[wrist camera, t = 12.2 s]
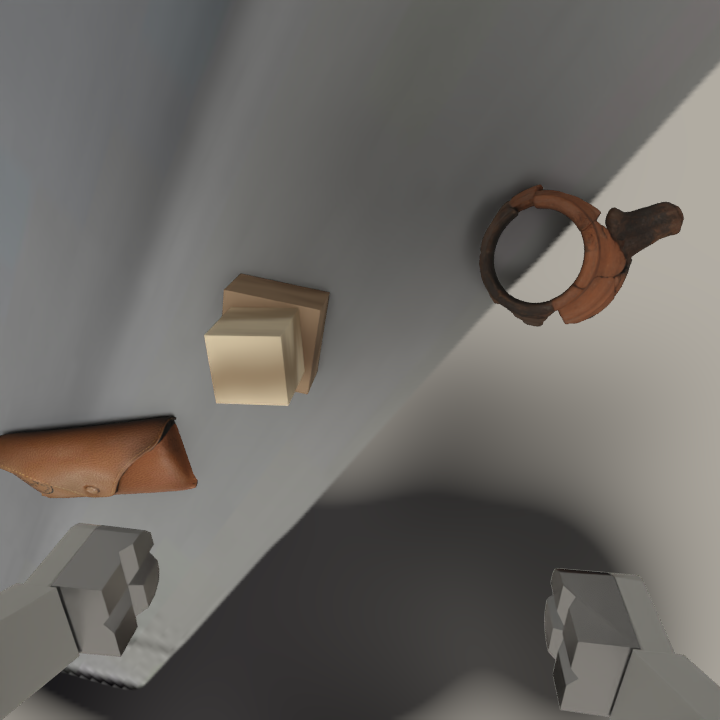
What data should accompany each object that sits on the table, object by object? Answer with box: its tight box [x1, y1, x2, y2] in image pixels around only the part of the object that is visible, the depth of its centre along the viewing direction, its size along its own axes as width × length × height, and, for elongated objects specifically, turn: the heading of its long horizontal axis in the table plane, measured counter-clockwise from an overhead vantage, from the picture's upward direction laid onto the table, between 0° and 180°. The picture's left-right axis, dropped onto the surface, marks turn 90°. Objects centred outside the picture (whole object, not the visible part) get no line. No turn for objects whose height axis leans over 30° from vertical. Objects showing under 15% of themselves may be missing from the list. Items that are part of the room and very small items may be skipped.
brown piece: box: [479, 185, 684, 326], centre depth 36 cm, size 12×10×8 cm
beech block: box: [204, 307, 305, 406], centre depth 38 cm, size 5×5×5 cm
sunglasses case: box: [0, 417, 197, 498], centre depth 51 cm, size 18×7×7 cm, turn 101°
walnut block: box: [222, 274, 330, 394], centre depth 42 cm, size 7×7×4 cm
